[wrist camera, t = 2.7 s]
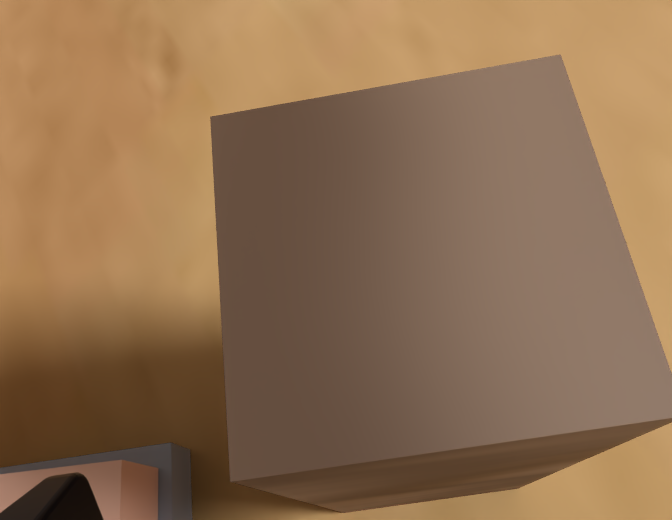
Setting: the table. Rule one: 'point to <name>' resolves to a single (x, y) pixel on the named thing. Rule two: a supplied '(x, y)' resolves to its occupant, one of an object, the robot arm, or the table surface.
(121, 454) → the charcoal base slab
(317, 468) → the walnut pillar
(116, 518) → the terracotta top slab
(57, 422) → the table surface
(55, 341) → the table surface
